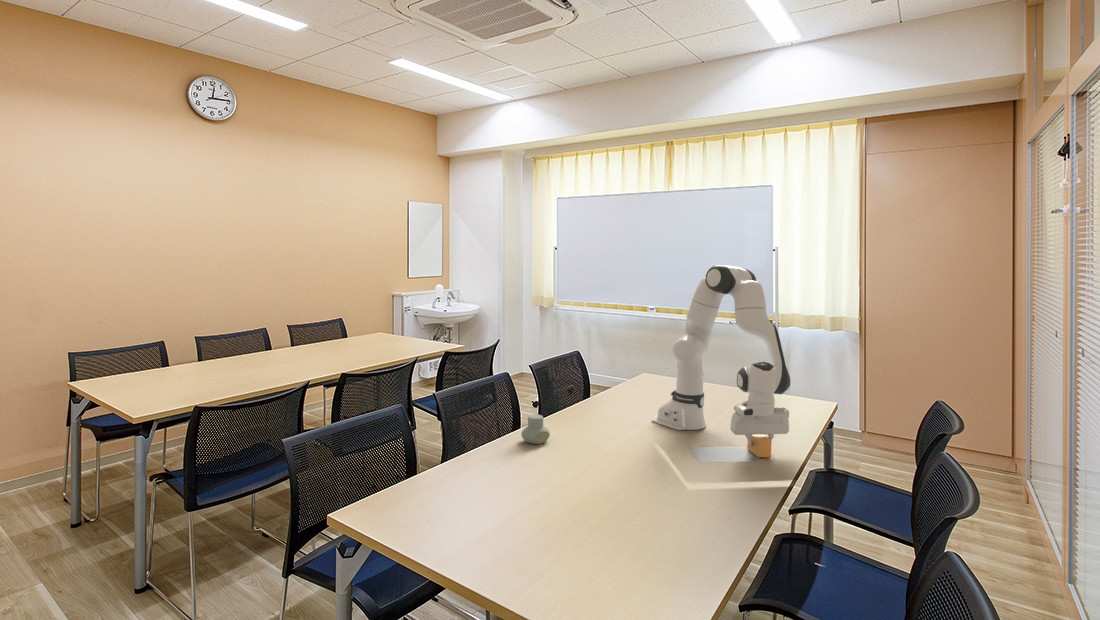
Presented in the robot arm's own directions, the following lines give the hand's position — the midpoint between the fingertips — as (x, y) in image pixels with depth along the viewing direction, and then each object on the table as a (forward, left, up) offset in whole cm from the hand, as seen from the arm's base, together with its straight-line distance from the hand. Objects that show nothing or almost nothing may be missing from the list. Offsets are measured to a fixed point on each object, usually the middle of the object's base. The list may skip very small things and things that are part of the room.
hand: (758, 445), depth 195 cm
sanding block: (0, 0, -2) cm, 3 cm away
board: (-9, -9, -4) cm, 14 cm away
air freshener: (-71, -40, -5) cm, 82 cm away
